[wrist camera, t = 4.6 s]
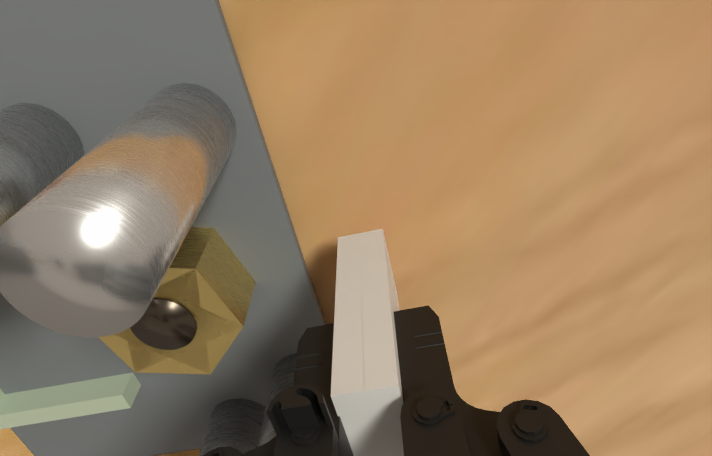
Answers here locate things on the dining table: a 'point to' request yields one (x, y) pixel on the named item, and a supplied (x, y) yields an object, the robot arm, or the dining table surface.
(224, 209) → the mat
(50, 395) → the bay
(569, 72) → the dining table surface
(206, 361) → the nut
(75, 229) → the spacer posts
